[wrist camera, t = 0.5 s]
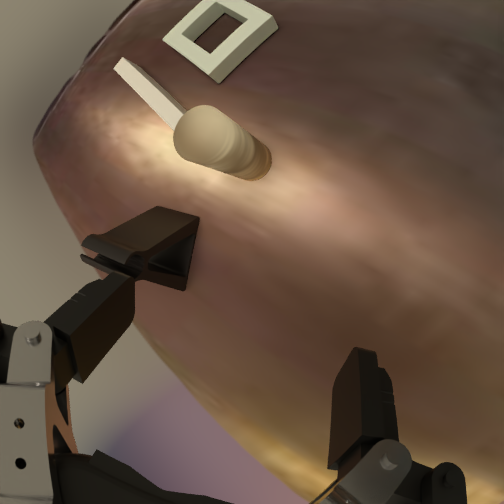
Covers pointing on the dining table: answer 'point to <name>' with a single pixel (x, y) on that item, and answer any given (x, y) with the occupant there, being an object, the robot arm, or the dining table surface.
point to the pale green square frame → (234, 47)
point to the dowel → (220, 144)
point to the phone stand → (148, 247)
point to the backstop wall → (151, 92)
